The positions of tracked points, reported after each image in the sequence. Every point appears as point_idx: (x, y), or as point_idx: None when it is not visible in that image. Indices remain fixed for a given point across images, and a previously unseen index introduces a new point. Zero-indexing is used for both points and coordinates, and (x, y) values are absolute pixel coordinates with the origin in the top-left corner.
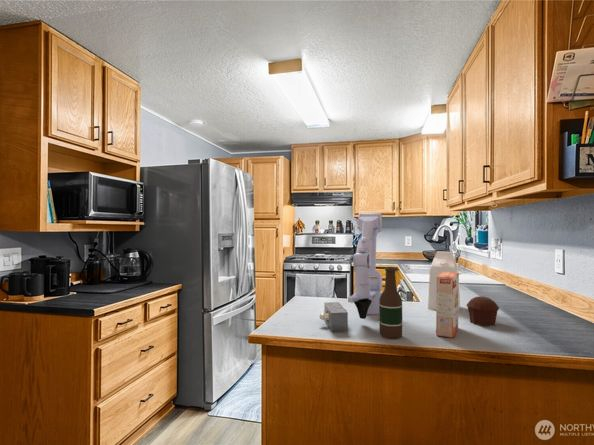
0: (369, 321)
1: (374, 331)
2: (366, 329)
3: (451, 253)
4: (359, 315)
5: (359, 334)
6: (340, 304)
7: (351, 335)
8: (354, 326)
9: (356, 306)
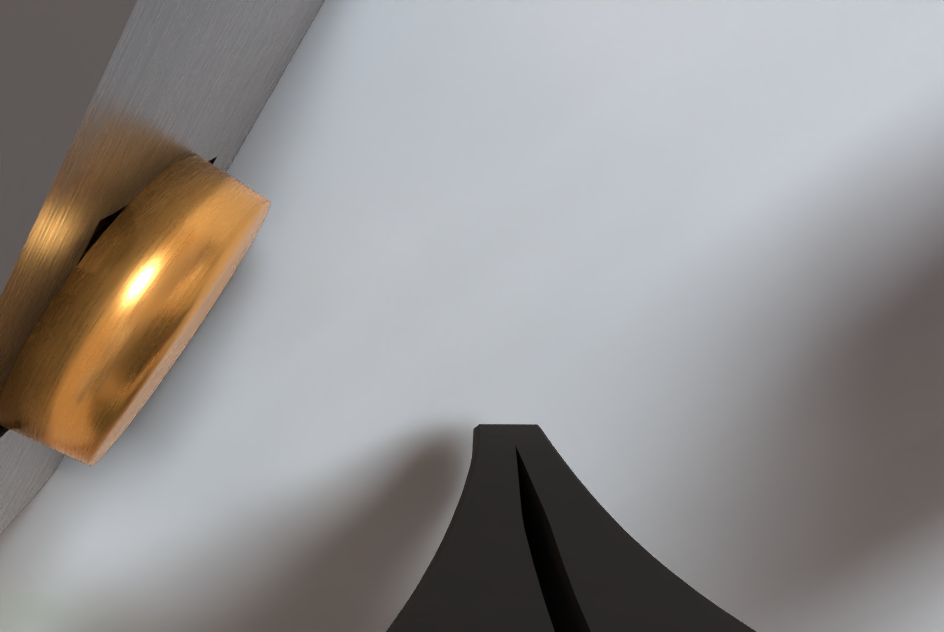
0: (701, 370)
1: (368, 629)
2: (349, 548)
3: None
4: (472, 458)
5: (130, 603)
6: (90, 60)
7: (10, 578)
8: (312, 386)
9: (415, 598)
